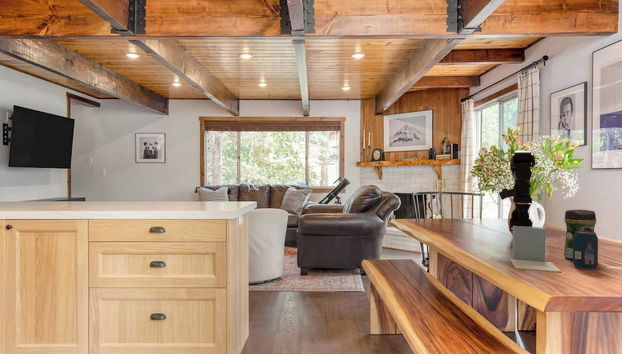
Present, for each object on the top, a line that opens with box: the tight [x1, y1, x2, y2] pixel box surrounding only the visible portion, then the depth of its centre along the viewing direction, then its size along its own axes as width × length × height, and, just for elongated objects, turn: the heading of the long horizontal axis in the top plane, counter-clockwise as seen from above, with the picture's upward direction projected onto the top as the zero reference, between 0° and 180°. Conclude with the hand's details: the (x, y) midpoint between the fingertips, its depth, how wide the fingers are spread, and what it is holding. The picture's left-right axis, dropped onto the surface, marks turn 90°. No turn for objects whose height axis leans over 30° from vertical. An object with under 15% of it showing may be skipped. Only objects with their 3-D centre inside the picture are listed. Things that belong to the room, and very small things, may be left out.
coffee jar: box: [563, 209, 597, 261], centre depth 148 cm, size 10×8×19 cm
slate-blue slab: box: [511, 226, 546, 262], centre depth 146 cm, size 4×10×12 cm, turn 71°
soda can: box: [572, 231, 599, 271], centre depth 134 cm, size 7×7×12 cm
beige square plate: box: [509, 258, 562, 273], centre depth 135 cm, size 14×13×1 cm
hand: (521, 221), depth 160 cm, fingers closed
